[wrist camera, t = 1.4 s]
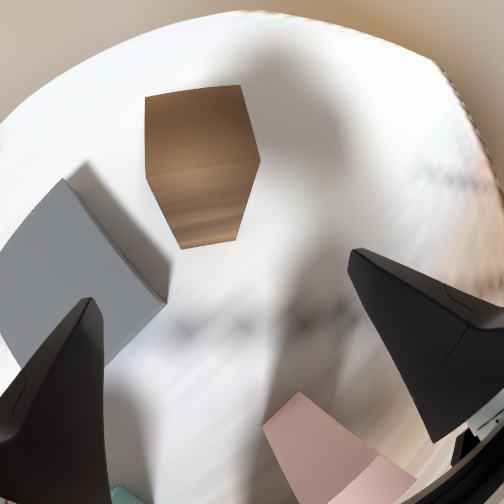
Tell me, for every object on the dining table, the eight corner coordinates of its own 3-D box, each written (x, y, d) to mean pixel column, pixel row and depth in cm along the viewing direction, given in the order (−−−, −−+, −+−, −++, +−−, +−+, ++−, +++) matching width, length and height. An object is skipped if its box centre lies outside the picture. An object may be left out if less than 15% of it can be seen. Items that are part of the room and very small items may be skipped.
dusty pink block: (331, 416, 20) (417, 479, 8) (296, 450, 19) (357, 534, 7) (298, 390, 20) (379, 454, 8) (261, 426, 19) (307, 518, 7)
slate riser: (166, 304, 21) (159, 303, 18) (69, 403, 17) (54, 413, 14) (76, 191, 21) (62, 177, 18) (-4, 288, 18) (-22, 285, 15)
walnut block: (235, 240, 22) (260, 160, 10) (181, 249, 22) (145, 177, 10) (225, 190, 23) (239, 84, 11) (174, 199, 22) (145, 97, 10)
